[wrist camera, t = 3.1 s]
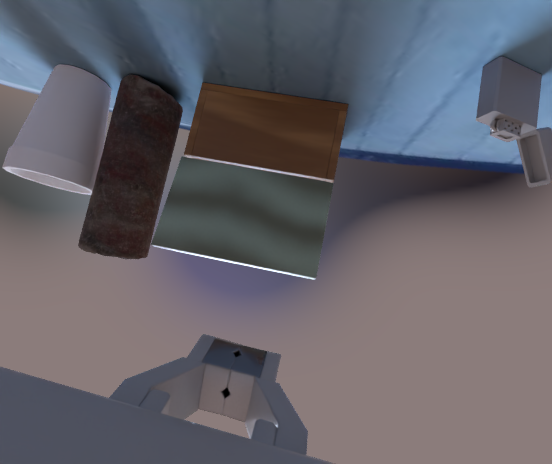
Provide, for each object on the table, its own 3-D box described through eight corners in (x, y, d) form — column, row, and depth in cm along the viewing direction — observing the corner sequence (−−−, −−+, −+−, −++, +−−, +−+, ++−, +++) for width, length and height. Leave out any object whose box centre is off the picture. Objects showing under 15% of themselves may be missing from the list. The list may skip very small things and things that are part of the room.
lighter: (480, 68, 27) (468, 166, 26) (501, 55, 25) (488, 159, 24) (548, 99, 29) (539, 192, 27) (571, 89, 27) (563, 187, 26)
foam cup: (32, 42, 36) (-8, 159, 34) (126, 80, 40) (94, 187, 38) (46, 81, 45) (15, 177, 43) (122, 109, 49) (96, 198, 47)
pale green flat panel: (315, 280, 32) (316, 278, 31) (153, 246, 33) (150, 244, 32) (332, 186, 35) (333, 182, 34) (183, 160, 36) (181, 156, 35)
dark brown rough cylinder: (189, 90, 39) (144, 263, 36) (185, 115, 46) (146, 263, 43) (118, 64, 37) (63, 247, 34) (124, 95, 44) (79, 249, 41)
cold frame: (339, 141, 44) (327, 203, 43) (222, 122, 46) (207, 181, 45) (348, 103, 35) (333, 180, 34) (202, 82, 37) (183, 154, 36)
